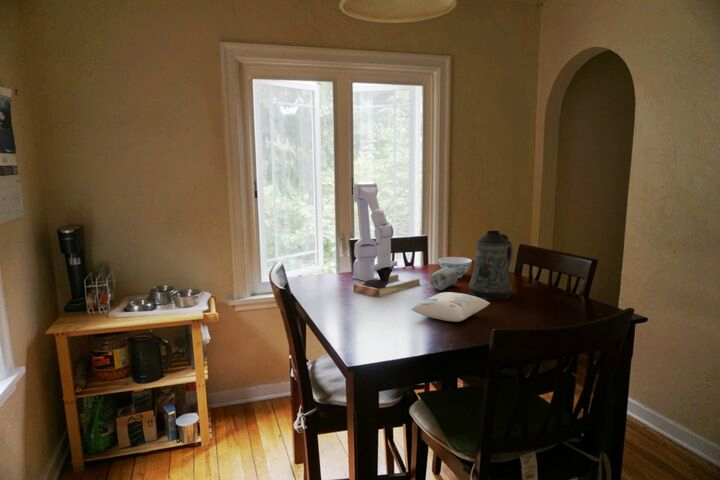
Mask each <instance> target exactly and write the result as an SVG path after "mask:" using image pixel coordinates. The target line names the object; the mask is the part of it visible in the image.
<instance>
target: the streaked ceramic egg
mask: <svg viewBox="0 0 720 480" xmlns="http://www.w3.org/2000/svg"><path fill="white" fill-rule="evenodd" d="M430 282H431V285H432V287H433V288H435V290H438V291H444V290H445V289H447V288H449V287H453V286H454V285H455V284H456V283H457V282H458V278H457V275H456V272H455V271H454V270H453V269H451V268H443V269H441V268H440V269H438V270H437V271H435V272H433V273H432V274H431V276H430Z"/></svg>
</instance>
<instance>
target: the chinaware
mask: <svg viewBox="0 0 720 480" xmlns="http://www.w3.org/2000/svg"><path fill="white" fill-rule="evenodd" d="M472 262H473V261H472V259H470V258H469V257H463V256H462V257H461V256H448V257H447V256H445V257H440V258H438V265H439V267H440V269H443V268H451V269H453V270H454V271H455V272H456V275H457V279H460V278H463V275H465V274H466V273H468V271H469V270H470V268H471V266H472Z"/></svg>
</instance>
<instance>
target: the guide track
mask: <svg viewBox="0 0 720 480" xmlns="http://www.w3.org/2000/svg"><path fill="white" fill-rule="evenodd" d="M374 280H380V277H378V278H377V279H374ZM398 280H399V274H398V273H395V274H390V276H389V280H388V283H391V282H396V281H398ZM420 280H421V279H420V277H419V278H418V277H416V278H414V279H409V280H406V281H403V282H399V283H396V284H392V285H389V286H388V285H387V286H386V287H385V288H381V289H378V288H373V287H369V286H365V285H364V283H365V282H366V281H364V282H360V283H353V284H352V287H353V292H355V293H359V294H363V295H367V296H372V297H375V298H379V297H382V296H385V295H389V294H392V293H395V292H398V291H401V290H402V291H403V290H405V289H408V288H411V287H414V286H418V285H421V281H420Z"/></svg>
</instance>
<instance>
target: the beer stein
mask: <svg viewBox="0 0 720 480" xmlns="http://www.w3.org/2000/svg"><path fill="white" fill-rule="evenodd" d="M475 246H476V256H475V260H474V266H473V271H472V274H471V277H470V280H469V283H468V289H469V295H472V296H475V297H479V298H481V299H484V300H486V301H487V300H489V301H492V300H493V301H498V300H506V299H508V298H510V297H511V295H512V291H513V286H512V284H511V279H510V271H509V269H510V268H509V267H510V266H511V263H512V261H513V258H514V246H513V244H512V242H511V241H510V240H509V237H508V235H507V234H503V233H500V231H499V230H487V231H486V233H485V234H484V235H482V237H480V238H479V239H478V240H477V241H476V242H475Z"/></svg>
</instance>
